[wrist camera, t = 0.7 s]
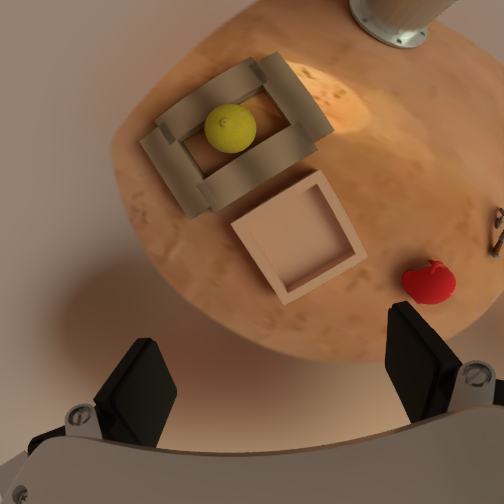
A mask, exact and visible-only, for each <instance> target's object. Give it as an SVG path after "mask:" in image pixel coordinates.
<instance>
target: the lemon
mask: <svg viewBox="0 0 504 504" xmlns="http://www.w3.org/2000/svg"><path fill="white" fill-rule="evenodd" d="M255 134H256V123H255V120H254V117H253V116H252V114H251V113H250V112H249V111H248V110H247V109H245V108H244V107H242V106H240V105H236V104H224V105H221V106H218V107H217V108H215V109H214V110H213V111H212V112H210V114H209V115H208V117H207V119H206V122H205V135H206V138H207V140H208V142H209V143H210V144H211V145H212V146H213V147H214V148H215V149H217V150H218V151H221V152H224V153H237V152H240V151H242V150H244V149H246V148H247V147H248V146H249V145H250V144H251V143H252V142H253V140H254V138H255Z"/></svg>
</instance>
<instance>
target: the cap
mask: <svg viewBox="0 0 504 504" xmlns="http://www.w3.org/2000/svg"><path fill="white" fill-rule="evenodd" d="M430 263H431V264H432V265H431V266H429V267H425V268H423V269H421V270H419V271H415V270H409V271H407V272H405V273H404V274H403V276H402V285H403V287H404V289H405V291H406V292H407V293H408V295H410V296H411V297H412V298H414V300H415V302H416V303H418V304H422V303H423V304H437V303H440V302H443V301H445V300H446V299H448V298H449V297H450V296H451V295H452V294H453V293H454V290H455V286H456V280H455V277H454V275H453V274H452V272H451V271H449V269H448V268H447V267H446V266H444V265H443V263H442V262H440V261H434V260H431V261H430Z"/></svg>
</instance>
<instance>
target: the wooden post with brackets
mask: <svg viewBox="0 0 504 504" xmlns="http://www.w3.org/2000/svg"><path fill="white" fill-rule="evenodd" d="M499 211H500V212H501V214H502V215H503V216H504V210H503V209H502V208H500V209H499ZM503 216H502V217H500V219H499V218H497V219H498V220H497V222H496V229H498V228H499V227H500V228H501V224H502V223H503V221H502V219H503ZM503 242H504V230H503V232H502V233H501V235H500V237H499V240H498V242H497V243H496V245H495V246H494V248H493V249H490V250H489V252H490V253H491V255H492V256H493V258H499V257H500V256H499V255H498V254H499V251H500V249H501V246H502V244H503Z"/></svg>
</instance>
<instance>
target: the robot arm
mask: <svg viewBox="0 0 504 504" xmlns="http://www.w3.org/2000/svg"><path fill="white" fill-rule="evenodd" d="M456 1H457V0H349V8H350V11H351V13H352V15H353V17H354V19H355V20H356V21H357V22H358V24H359V25H360V26H361V27H362V28H363V29H364V30H365V31H366V32H367V33H369V34H370V35H371V36H373V37H374V38H376V39H378V40H379V41H381V42H383V43H385V44H387V45H390V46H393V47H396V48H401V49H412V48H416V47H418V46H420V45H421V44H422V43H423V42H424V41H425V40H426V37H427V34H428V29H427V25H428V24H429V23H430V22H431V21H433V20H434V19H435V18H436V17H437V16H439V15H440V14H441V13H442V12H443V11H445V10H446V9H447V8H448V7H450V6H451V5H452V4H453V3H454V2H456ZM385 368H386V371H387V373H388V375H389V377H390V379H391V381H392V383H393V385H394V387H395V389H396V392H397V394H398V396H399V398H400V400H401V402H402V404H403V407H404V409H405V411H406V413H407V415H408V418H409V420H410V422H411V424H409V425H406V426H403V427H400V428H396V429H393V430H390V431H386V432H382V433H378V434H374V435H370V436H366V437H362V438H358V439H353V440H349V441H343V442H338V443H333V444H327V445H321V446H314V447H307V448H299V449H290V450H280V451H268V452H245V453H214V452H192V451H180V450H169V449H160V448H156V446H157V444H158V441H159V438H160V436H161V433H162V431H163V428H164V426H165V423H166V421H167V418H168V416H169V413H170V411H171V408H172V406H173V403H174V401H175V398H176V396H177V388H176V386H175V384H174V382H173V380H172V377H171V375H170V373H169V371H168V368H167V366H166V364H165V361H164V359H163V357H162V355H161V352H160V350H159V347H158V345H157V343H156V342H155V341H153V340H152V339H151V338H138V339H137V340H136V341H135V342H134V344H133V345H132V346H131V348H130V349H129V350H128V352H127V353H126V354H125V356H124V357H123V359H122V360H121V361H120V363H119V364H118V365H117V367H116V368H115V369H114V371H113V372H112V374H111V375H110V376H109V378H108V379H107V381H106V382H105V383H104V385H103V386H102V388H101V389H100V391H99V392H98V393H97V395H96V396H95V398H94V399H93V400H94V402H95V403H96V405H95V407H93V406H92V405H90V404H80V405H77V406H75V407H73V408H72V409H70V410H69V412H68V413H67V414H66V416H65V425H64V426H62V427H59V428H57V429H54V430H52V431H49V432H47V433H44V434H41V435H39V436H37V437H34V438H33V439H32V440H31V441H30V443H29V445H28V453H27V452H26V451H23V452H22V453H20V454H19V455H17V456H16V457H14V458H13V459H11V460H9V461H8V462H6V463H5V464H3V465H1V466H0V494H1V496H2V501H1V503H0V504H504V380H498V379H496V375H495V371H494V369H493V368H492V366H491V365H490V364H488V363H486V362H484V361H479V360H473V361H469V362H467V363H465V364H462V362H461V361H460V360H459V359H458V357H457V356H456V355H455V354H454V353H453V351H452V350H451V349H450V348H449V347H448V345H447V344H446V343H445V342H444V341H443V340H442V338H441V337H440V336H439V335H438V334H437V333H436V331H435V330H434V329H433V328H431V327H430V326H429V324H428V323H427V322H426V321H425V320H424V319H423V318H422V317H421V316H420V314H419V313H418V312H417V311H416V310H415V309H414V308H413V307H412V306H411V305H410V303H409V302H408V301H403V302H399V303H394V304H393V305H392V308H389V310H388V325H387V341H386V354H385Z"/></svg>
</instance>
